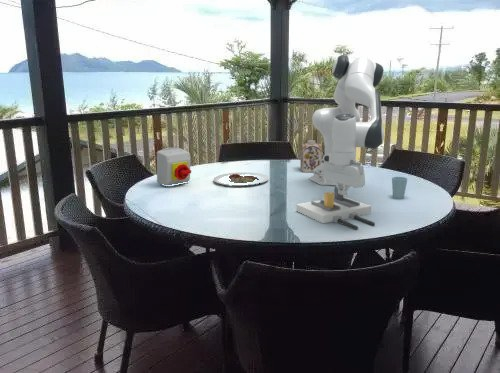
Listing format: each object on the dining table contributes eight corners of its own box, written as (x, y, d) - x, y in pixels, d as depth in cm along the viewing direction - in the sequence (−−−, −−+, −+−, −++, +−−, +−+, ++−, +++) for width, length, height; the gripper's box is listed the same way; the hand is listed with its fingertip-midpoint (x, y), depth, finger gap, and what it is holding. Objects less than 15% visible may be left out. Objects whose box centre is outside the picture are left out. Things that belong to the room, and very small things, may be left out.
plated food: (249, 191, 209) (249, 184, 208) (202, 184, 224) (202, 178, 224) (278, 178, 233) (278, 172, 233) (233, 173, 249) (233, 168, 248)
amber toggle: (324, 207, 168) (324, 193, 166) (330, 206, 169) (330, 191, 167) (327, 208, 166) (327, 194, 164) (333, 207, 167) (334, 193, 166)
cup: (400, 194, 195) (401, 176, 193) (409, 198, 189) (410, 179, 187) (387, 196, 193) (389, 177, 191) (396, 200, 187) (397, 180, 185)
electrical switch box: (171, 193, 215) (171, 156, 208) (156, 184, 225) (156, 149, 218) (195, 188, 224) (196, 152, 217) (180, 180, 234) (180, 145, 227)
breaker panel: (296, 211, 174) (296, 201, 173) (341, 202, 185) (342, 193, 184) (323, 223, 159) (323, 212, 158) (370, 213, 169) (371, 203, 168)
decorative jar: (322, 172, 246) (322, 141, 242) (302, 172, 246) (302, 142, 242) (319, 168, 258) (319, 139, 253) (300, 168, 258) (300, 139, 254)
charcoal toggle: (334, 200, 177) (334, 186, 176) (340, 199, 179) (340, 185, 177) (337, 201, 176) (337, 187, 174) (343, 200, 177) (343, 186, 176)
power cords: (332, 221, 161) (333, 216, 160) (353, 216, 166) (353, 211, 165) (354, 230, 150) (355, 225, 150) (376, 225, 155) (376, 220, 154)
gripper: (369, 161, 148) (368, 199, 151) (332, 154, 166) (332, 188, 169) (356, 163, 145) (354, 202, 149) (320, 155, 163) (319, 190, 166)
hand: (342, 194), depth 159 cm, fingers closed
